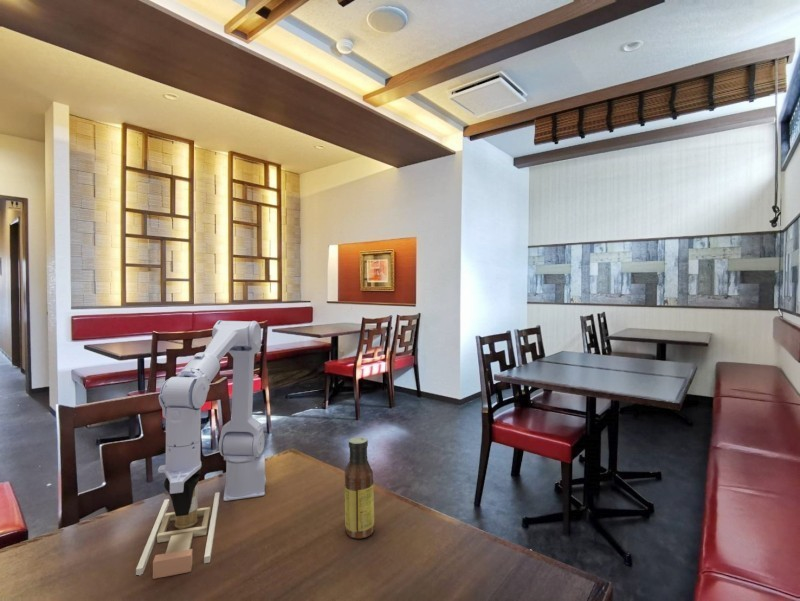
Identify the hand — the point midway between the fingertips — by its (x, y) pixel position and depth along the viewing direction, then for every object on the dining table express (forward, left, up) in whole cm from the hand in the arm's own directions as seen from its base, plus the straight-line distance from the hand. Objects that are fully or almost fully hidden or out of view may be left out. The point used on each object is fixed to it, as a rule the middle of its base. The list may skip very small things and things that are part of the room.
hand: (182, 513), depth 77 cm
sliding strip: (+1, -7, -9) cm, 12 cm away
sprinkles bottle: (+1, -14, -10) cm, 17 cm away
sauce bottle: (-34, 0, -10) cm, 35 cm away
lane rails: (+1, -12, -9) cm, 15 cm away
